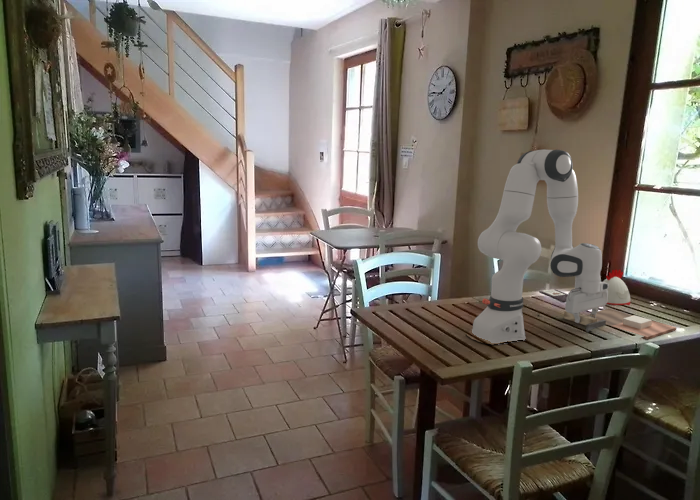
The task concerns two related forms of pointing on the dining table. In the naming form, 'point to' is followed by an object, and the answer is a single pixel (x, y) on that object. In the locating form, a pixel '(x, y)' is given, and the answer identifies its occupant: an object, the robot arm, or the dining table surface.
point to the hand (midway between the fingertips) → (585, 320)
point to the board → (616, 320)
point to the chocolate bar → (556, 295)
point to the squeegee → (586, 321)
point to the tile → (637, 322)
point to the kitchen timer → (617, 289)
